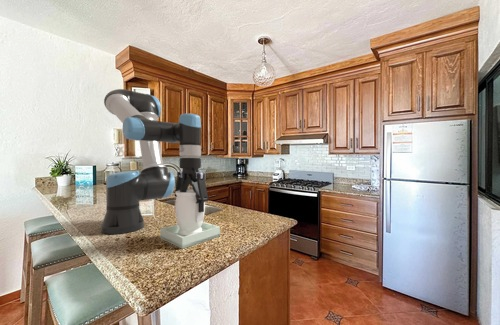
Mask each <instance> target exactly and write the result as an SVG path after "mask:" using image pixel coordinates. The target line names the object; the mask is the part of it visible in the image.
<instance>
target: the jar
mask: <svg viewBox="0 0 500 325" xmlns="http://www.w3.org/2000/svg"><path fill="white" fill-rule="evenodd" d="M175 194H176V195H177V197H176V198H175V204H174V205H175V206H174V210H175V218H176V223H177V224H176V225H178V226H179V228H180V229H179V231H178V233H179V234H180V235H191V234H194V233H198V232H201V231H202V228H201V225H202V223H203V222H204V218H205V213H206V202H204V212H203V221H201V222H196V203H195V202H197V200H196V197H195V196H196V193H195V192H194V191H193V188H192V189H191V188H187V191H186V192H180V190H179V191H176V192H175V191H174V195H175Z"/></svg>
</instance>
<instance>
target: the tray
mask: <svg viewBox="0 0 500 325" xmlns="http://www.w3.org/2000/svg"><path fill="white" fill-rule="evenodd" d="M201 228H202V231H201V232H198V233H194V234H191V235H180V234H179V233H178V231H179V229H180V228H179V226H178V224H174V225H170V226H166V227H162V228H160V229H159V230H160V231H159V232H160V233H159V234H160V236H159V237H160V239H161V240H163V241H164V242H167V243H169V244H171V245H173V246H175V247H177V248H180V249H181V250H184V249H187V248H189V247H190V248H191V247H193V246H195V245H198V244H199V245H200V244H202V243H205V242H207V241H210V240H213V239H216V238H219V237H220V236H221V227H220V226H219V225H216V224H213V223H212V224H211V223H210V222H209V223H208V222H205V221H203V223H202V225H201Z"/></svg>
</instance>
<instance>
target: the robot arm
mask: <svg viewBox="0 0 500 325" xmlns="http://www.w3.org/2000/svg"><path fill="white" fill-rule="evenodd" d="M103 104H104V106H105V109H106V110H107V111H108V112H109V113H110V114H112V115H115V117H116V118H118V120H119V121H120V122H121V123H122V135H123V137H124V138H125V139H126V140H133V141H139V142H138V143H139V145H140V146H139V148H140V153H141V161H142V166H143V168H142V169H141V170H140V171H139V170H127V171H121V172H120V171H119V172H115V173H111V174H109V175H108V176H107V177H106V184H105V188H106V189H105V190H106V199H105V200H106V212H105V214H104V217H103V220H102V222H101V226H100V228H101V229H100V231H101V233H102V234H104V235H105V234H106V235H109V234H110V235H118V234H119V235H121V234H126V233H132V232H135V231H139V230H141V229H142V228H144V227H145V220H144V217H143V215H142V211H141V209H140V202H141V201H149V200H150V201H151V200H157V199H160V200H162V199H163V198H168V197H170V196H171V195H172V194H173V193H174V197H176V198H177V195H176V194H175V192H176V191H179V190H180V192H186V191H187V189H189V185H190V186H191V188H192V189H193V191H194V192H195V193H196V196H195V197H196V200H197V202H195V203H196V222H201V221H203V222H204V219H203V212H204V202H205V203H206V202H208V201H209V196H208V190H207V185H206V180H205V179H206V177H205V176H206V174H205V172H199V169H200V168H201V167H202V159H201V158H200V157H201V156H202V146H201V145H202V124H201V122H202V119H201V118H202V117H200V115H198V114H195V113H182V114H180V115H179V119H178V122H169V121H168V122H167V121H161V120H158V119H159V118H160V117H161V115H162V105H161V102H160V100H159V99H158V98H157V97H156V96H155V95H152V94H148V93H143V92H142V93H141V92H137V91H133V90H129V89H125V88H124V89H123V88H120V89H119V88H118V89H114V90H111V91H109V92H108V93H106V95H105V96H104V99H103ZM160 143H169V144H178V143H179V148H178V150H179V157H180V158H179V160H178V161H179V164H178V166H179V169H182V171H177V172H176V175H177V178H175V174H174V173H173V172H170V171H169V169H168V167H167V166H166V165H164V161H163V157H162V148H161V144H160Z"/></svg>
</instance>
